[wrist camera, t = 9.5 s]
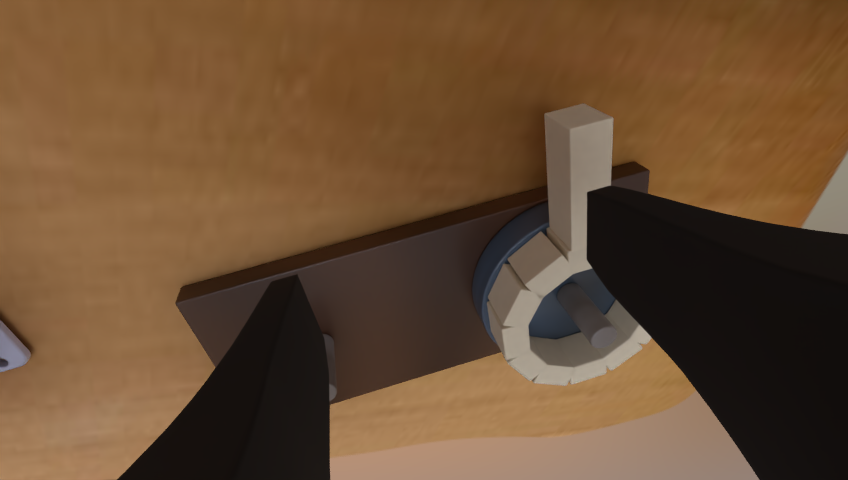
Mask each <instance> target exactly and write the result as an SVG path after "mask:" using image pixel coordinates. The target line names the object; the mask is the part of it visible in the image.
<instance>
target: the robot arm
mask: <svg viewBox="0 0 848 480" xmlns="http://www.w3.org/2000/svg"><path fill="white" fill-rule="evenodd" d="M587 261H588V263H589V264H590V266H591V267H592V269H593V270H594V272H595V273H596V275H597V276H598V277H599V279H600V280H601V282H602V283H603V284H604V286H605V287H606V289H607V290H608V291H609V292H610V293H611V294H612V296H613V297H614V298H615V299H616V300H617V301H618V302H619V303H620V304H621V305H622V306H623V308H624V309H625V310H626V311H627V312H628V313H629V314H630V315H631V316H632V317H633V318H634V319H635V320H636V321H637V323H638V324H639V325H640V326H641V327H642V328H643V329H644V330H645V331H646V332H647V333H648V334H649V335H650V336H651V337H652V338H653V339H654V341H655V342H656V343H657V344H658V345H659V346H660V347H661V348H662V349H663V350H664V351H665V352H666V353H667V354H668V355H669V357H670V358H671V359H672V360H673V361H674V362H675V364H676V365H677V366H678V367H679V368H680V369H681V370H682V372H683V373H684V374H685V376H686V377H687V378H688V380H689V381H690V382H691V384H692V385H693V386H694V387H695V389H696V390H697V391H698V393H699V394H700V395H701V397H702V398H703V399H704V401H705V402H706V403H707V405H708V406H709V407H710V409H711V410H712V411H713V413H714V414H715V416H716V417H717V418H718V420H719V421H720V422H721V424H722V425H723V427H724V428H725V430H726V431H727V432H728V434H729V435H730V437H731V438H732V439H733V441H734V442H735V444H736V445H737V447H738V448H739V449H740V451H741V453H742V454H743V455H744V457H745V458H746V460H747V462H748V463H749V464H750V466H751V467H752V469H753V471H754V472H755V474H756V475H757V477H758V478H759V479H760V480H848V234H839V233H831V232H823V231H815V230H808V229H802V228H796V227H789V226H783V225H777V224H771V223H766V222H760V221H755V220H751V219H746V218H741V217H737V216H732V215H728V214H723V213H719V212H715V211H711V210H707V209H703V208H699V207H695V206H691V205H687V204H684V203H680V202H676V201H672V200H669V199H665V198H661V197H658V196H654V195H650V194H647V193H643V192H639V191H635V190H631V189H627V188H622V187H617V186H606V187H603V188H599V189H596V190H592V191H589V192H587ZM30 357H31V353H30V351H29V350H28V349H27V348H26V347H25V346H24V345H23V343H22V342H21V341H20V340H19V339H18V338H17V337H16V336H15V335H14V334H13V333H12V332H11V331H10V330H9V328H8V327H7V326H6V325H5V324H4V323H3V322H2V321H1V320H0V358H2V359H5V360H7V361H5V360H2V359H0V372H3V371H7V370H10V369H14V368H17V367H21V366H23V365H25V364H26V363H27V361H28V360H29V359H30ZM329 462H330V404H329V369H328V361H327V354H326V347H325V340H324V336H323V334H322V331H321V329H320V327H319V324H318V322H317V320H316V317H315V315H314V312H313V310H312V308H311V305H310V303H309V301H308V298H307V296H306V294H305V291H304V289H303V286H302V284H301V282H300V279H299V277H298V275H297V274H296V275H292V276H289V277H285V278H282V279H278V280H275V281H271V283H270V284H269V286H268V287H267V289H266V291H265V292H264V294H263V296H262V297H261V299H260V300H259V302H258V304H257V305H256V307H255V309H254V310H253V312H252V314H251V315H250V317H249V319H248V320H247V322H246V324H245V325H244V327H243V328H242V330H241V331H240V333H239V335H238V336H237V338H236V339H235V341H234V343H233V344H232V346H231V347H230V348H229V350H228V351H227V353H226V354H225V355H224V357H223V358H222V360H221V361H220V363H219V364H218V365H217V367H216V368H215V370H214V371H213V372H212V374H211V375H210V377H209V378H208V379H207V381H206V382H205V383H204V385H203V386H202V387H201V389H200V390H199V391H198V392H197V394H196V395H195V396H194V397H193V399H192V400H191V401H190V402H189V403H188V405H187V406H186V407H185V408H184V409H183V410H182V412H181V413H180V414H179V415H178V416H177V417H176V419H175V420H174V421H173V422H172V423H171V424H170V426H169V427H168V428H167V429H166V430H165V431H164V432H163V433H162V434H161V435H160V436H159V437H158V438H157V439H156V440H155V441H154V442H153V444H152V445H151V446H150V447H149V448H148V449H147V450H146V451H145V452H144V453H143V454H142V455H141V456H140V457H139V458H138V459H137V460H136V461H135V462H134V463H133V464H132V465H131V466H130V467H129V468H128V469H127V470H126V472H124V473H123V474H122V475H121V476H120V477H119V478H118V479H117V480H330V463H329Z"/></svg>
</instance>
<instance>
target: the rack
mask: <svg viewBox="0 0 848 480" xmlns="http://www.w3.org/2000/svg"><path fill="white" fill-rule="evenodd" d="M649 172H650V171H649V170H648V169H647V168H645V167H643V166H641V165H640V164H638V163H636V162H632V163H628V164H624V165H621V166H617V167H614V168H612V169H611V186H617V187H622V188H627V189H631V190H635V191H639V192H643V193H647V194H648V183H649ZM549 227H550V226H549V205H548V186H545V187H542V188H538V189H534V190H531V191H527V192H523V193H520V194H516V195H513V196H509V197H505V198H502V199H498V200H495V201H491V202H487V203H484V204H480V205H477V206H473V207H469V208H466V209H462V210H459V211H455V212H451V213H448V214H444V215H441V216H437V217H433V218H430V219H426V220H423V221H419V222H415V223H412V224H408V225H405V226H401V227H397V228H394V229H390V230H387V231H383V232H379V233H376V234H372V235H369V236H365V237H361V238H358V239H354V240H351V241H347V242H343V243H340V244H336V245H333V246H329V247H325V248H322V249H318V250H315V251H311V252H307V253H304V254H300V255H297V256H293V257H289V258H286V259H282V260H279V261H275V262H271V263H268V264H264V265H261V266H257V267H253V268H250V269H246V270H243V271H239V272H235V273H232V274H228V275H225V276H221V277H217V278H214V279H210V280H207V281H203V282H199V283H196V284H192V285H189V286H185V287H182V288H181V290H180V292H179V295H178V297H177V300H176V302H175V303H176V305H177V307H178V309H179V310H180V312H181V313H182V315H183V317H184V318H185V320H186V321H187V323H188V324H189V326H190V328H191V329H192V331H193V332H194V334H195V335H196V337H197V339H198V340H199V342H200V343H201V345H202V346H203V348H204V350H205V351H206V353H207V354H208V356H209V357H210V359H211V361H212V362H213V364H214V365H215V367H217V365H218V364H219V363H220V361H221V360H222V358H223V357H224V355H225V354H226V353H227V351H228V350H229V348H230V347H231V346H232V344H233V343H234V341H235V339H236V338H237V336H238V335H239V333H240V331H241V330H242V328H243V327H244V325H245V324H246V322H247V320H248V319H249V317H250V315H251V314H252V312H253V310H254V309H255V307H256V305H257V304H258V302H259V300H260V299H261V297H262V296H263V294H264V292H265V291H266V289H267V287H268V286H269V284H270V283H271V281H275V280H278V279H282V278H285V277H289V276H292V275H296V274H297V275H298V277H299V279H300V282H301V284H302V286H303V289H304V291H305V294H306V296H307V298H308V301H309V303H310V305H311V308H312V310H313V312H314V315H315V317H316V320H317V322H318V324H319V327H320V329H321V331H322V334H323V336H324V340H325V347H326V354H327V361H328V369H329V404H334V403H337V402H340V401H343V400H347V399H350V398H353V397H356V396H360V395H363V394H366V393H369V392H373V391H376V390H379V389H382V388H386V387H389V386H392V385H395V384H399V383H402V382H405V381H408V380H412V379H415V378H418V377H421V376H425V375H428V374H431V373H434V372H438V371H441V370H444V369H447V368H451V367H454V366H457V365H460V364H464V363H467V362H470V361H473V360H477V359H480V358H483V357H486V356H490V355H493V354H496V353H500V352H501V350H500V348H499V346H498V344H497V342H496V340H495V338H494V336H493V334H492V332H491V328H490V321H489V314H488V308H487V302H488V301H489V299H488V295H489V293H490V291H491V289H492V287H493V285H494V283H495V280H496V278H497V276H498V274H499V272H500V270H501V268H502V266H503V264H510V263H509V261H508V258H509V257H510V256H511V255H512V254H514V253H515V252H516V251H517V250H518V249H520V248H521V247H522V246H523V245H525V244H526V243H527V242H528V241H529V240H531V239H532V238H533V237H534V236H535V235H537V234H538V233H539V232H540V231H541V232H543V233H544V235H545V236H546V237H547V231H546V229H547V228H549ZM510 265H511V264H510ZM615 300H616V299H615V298H614V297H613V296H612V294H611V293H610V292H609V291H608V290H607V289H606V287H605V286H604V284H603V283H602V282H601V280H600V279H599V277H598V276H597V275H596V273H595V272H594V270H593V269H588V270H585V271H581V272H578V273H575V274H572V275H571V276H570V277H569V278H567V279H566V280H565V281H564V282H562V283H561V284H560V285H558V286H557V287H556V288H555V289H553V290H552V291H551V292H550V293H548V294H547V295H546V296H545V297H543V299H542V301H541V303H540V305H539V306H538V308H537V310H536V312H535V314H534V316H533V318H532V319H531V321H530V323H529V325H528V328H529V336H532V337H540V338H548V339H559V338H562V337H566V336H569V335H572V334H575V333H579V332H582V333H583V334H584V336H585V337H586V338H587V340H588V341H589V342H590V344H591V345H592V346H593V347H595V348H604V347H607V346H609V345H610V344H612V343H613V342H614V340H615V339H616V337H617V330H616V328H615V327H614V326H613V325H612V324H611V323H610V321H609V320H608V319H607V318H606V317H605V316H604V315H605V314H607V313H608V311H609V309H610V308H611V306H612V305H613V303H614V301H615Z"/></svg>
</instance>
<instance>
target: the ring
mask: <svg viewBox="0 0 848 480" xmlns="http://www.w3.org/2000/svg"><path fill="white" fill-rule="evenodd" d="M544 117H545V139H546V161H547V183H548V205H549V226H550V227H549V228H547V229H546V231H547V237H546V236H545V235H544V233H543V232H541V231H540V232H539V233H538V234H537V235H535V236H534V237H533V238H532V239H531V240H529V241H528V242H527V243H526V244H525V245H523V246H522V247H521V248H520V249H518V250H517V251H516V252H515V253H514V254H512V255H511V256H510V257H509V258H508V261H509V263H510V264H511V265H510V264H503V266H502V268H501V270H500V272H499V274H498V276H497V278H496V280H495V283H494V285H493V287H492V289H491V291H490V293H489V295H488V299H489V301H488V302H487V308H488V314H489V321H490V328H491V332H492V334H493V336H494V338H495V340H496V342H497V344H498V346H499V348H500V350H501V352H502V354H503V356H504V358H505V359H506V361H507V363H508V364H509V365H510V366H512V367H513V368H514V369H515V370H517V371H518V372H519V373H520V374H521V375H523V376H524V377H525V378H526V379H528V380H529V381H530V380H532V381H533V383H539V384H551V385H563V386H566V385H567V384H568V382H570V384H575V383H578V382H581V381H585V380H588V379H591V378H594V377H597V376H600V375H603V374H606V370H607V368H608V369H609V370H613V369H615V368H616V367H618V366H619V365H620V364H622V363H623V362H624V361H626V360H627V359H629V358H630V357H631V356H633V355H634V354H636V353H637V352H638V351H640V350H641V349H642V346H641V345H640V344H639V343H641V344H647V343H648V342H649V340H650V339H651V338H652V337H651V336H650V335H649V334H648V333H647V332H646V331H645V330H644V329H643V328H642V327H641V326H640V325H639V324H638V323H637V321H636V320H635V319H634V318H633V317H632V316H631V315H630V314H629V313H628V312H627V311H626V310H625V309H624V308H623V306H622V305H621V304H620V303H619V302H618V301H617V300H615V301H614V303H613V305H612V306H611V308H610V309H609V311H608V313H607V314H605V315H604V316H605V317H606V318H607V319H608V320H609V321H610V323H611V324H612V325H613V326H614V327H615V328H616V330H617V337H616V339H615V340H614V342H613V343H612V344H610V345H609V346H607V347H604V348H595V347H593V346H592V345H591V344H590V342H589V341H588V340H587V338H586V337H585V336H584V334H583V333H582V332H579V333H575V334H572V335H569V336H566V337H562V338H559V339H548V338H540V337H532V336H529V328H528V325H529V323H530V321H531V319H532V318H533V316H534V314H535V312H536V310H537V308H538V306H539V305H540V303H541V301H542V299H543V297H545V296H546V295H547V294H548V293H550V292H551V291H552V290H553V289H555V288H556V287H557V286H558V285H560V284H561V283H562V282H564V281H565V280H566V279H567V278H569V277H570V276H571V275H572V274H575V273H578V272H581V271H585V270H588V269H592V267H591V266H590V264H589V263H588V261H587V192H589V191H592V190H596V189H599V188H603V187H606V186H611V169H612V142H613V117H611V116H609V115H607V114H605V113H603V112H600V111H598V110H596V109H594V108H592V107H590V106H588V105H586V104H584V103H583V104H579V105H576V106H572V107H568V108H564V109H560V110H557V111H553V112H549V113H545V114H544Z"/></svg>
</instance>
